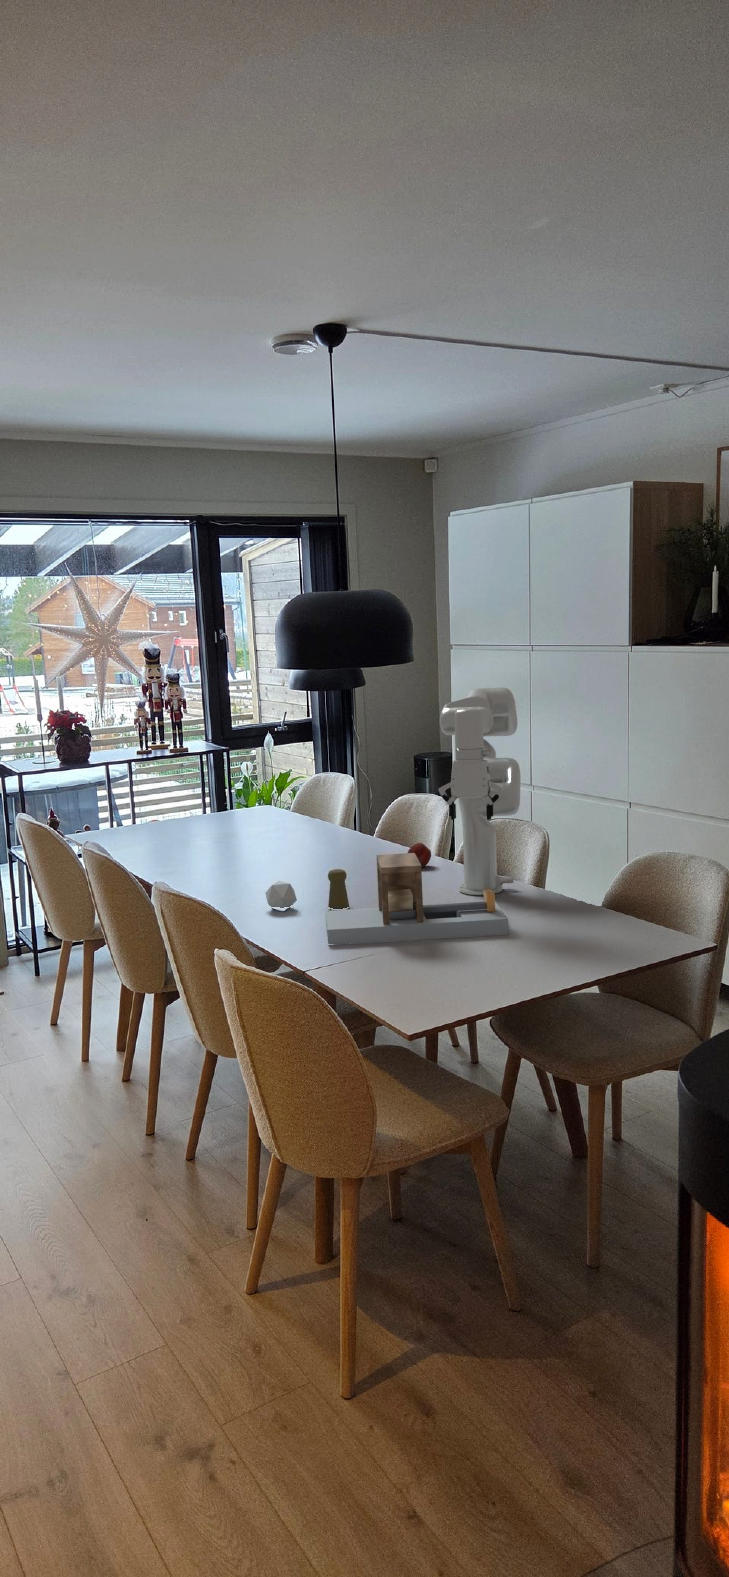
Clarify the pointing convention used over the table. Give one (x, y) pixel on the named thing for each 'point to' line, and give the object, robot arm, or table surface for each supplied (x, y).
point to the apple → (421, 853)
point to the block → (400, 900)
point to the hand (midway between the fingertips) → (471, 819)
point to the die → (281, 895)
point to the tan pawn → (337, 889)
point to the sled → (447, 907)
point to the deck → (412, 925)
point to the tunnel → (399, 880)
